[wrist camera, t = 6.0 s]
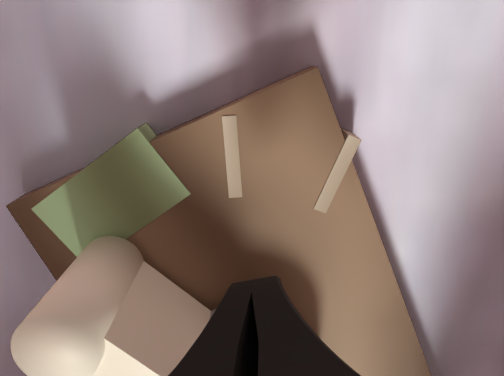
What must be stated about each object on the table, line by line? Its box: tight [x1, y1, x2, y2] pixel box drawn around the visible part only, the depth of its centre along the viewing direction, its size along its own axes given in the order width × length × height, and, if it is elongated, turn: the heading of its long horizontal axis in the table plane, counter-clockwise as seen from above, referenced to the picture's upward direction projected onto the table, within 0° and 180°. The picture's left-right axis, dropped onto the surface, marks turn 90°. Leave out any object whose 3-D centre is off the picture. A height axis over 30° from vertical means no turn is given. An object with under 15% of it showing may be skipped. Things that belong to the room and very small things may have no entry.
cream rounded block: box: [10, 236, 217, 376], centre depth 14 cm, size 11×6×5 cm, turn 48°
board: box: [6, 66, 431, 376], centre depth 17 cm, size 13×18×1 cm
